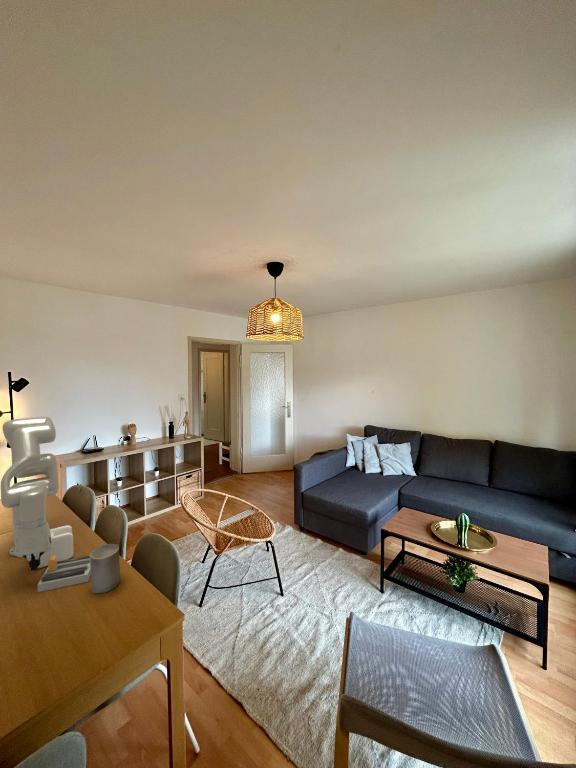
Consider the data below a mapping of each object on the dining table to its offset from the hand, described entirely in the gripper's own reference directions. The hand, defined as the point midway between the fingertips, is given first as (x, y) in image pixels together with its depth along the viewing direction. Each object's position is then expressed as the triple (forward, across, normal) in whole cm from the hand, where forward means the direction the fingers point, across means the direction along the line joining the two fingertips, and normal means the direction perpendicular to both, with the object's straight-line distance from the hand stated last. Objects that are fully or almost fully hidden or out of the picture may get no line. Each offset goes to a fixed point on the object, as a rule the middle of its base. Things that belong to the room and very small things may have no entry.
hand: (34, 568), depth 117 cm
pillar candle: (+6, +25, -10) cm, 28 cm away
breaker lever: (+3, +6, 0) cm, 6 cm away
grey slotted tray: (+6, +11, 0) cm, 12 cm away
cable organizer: (+6, +1, +16) cm, 17 cm away
